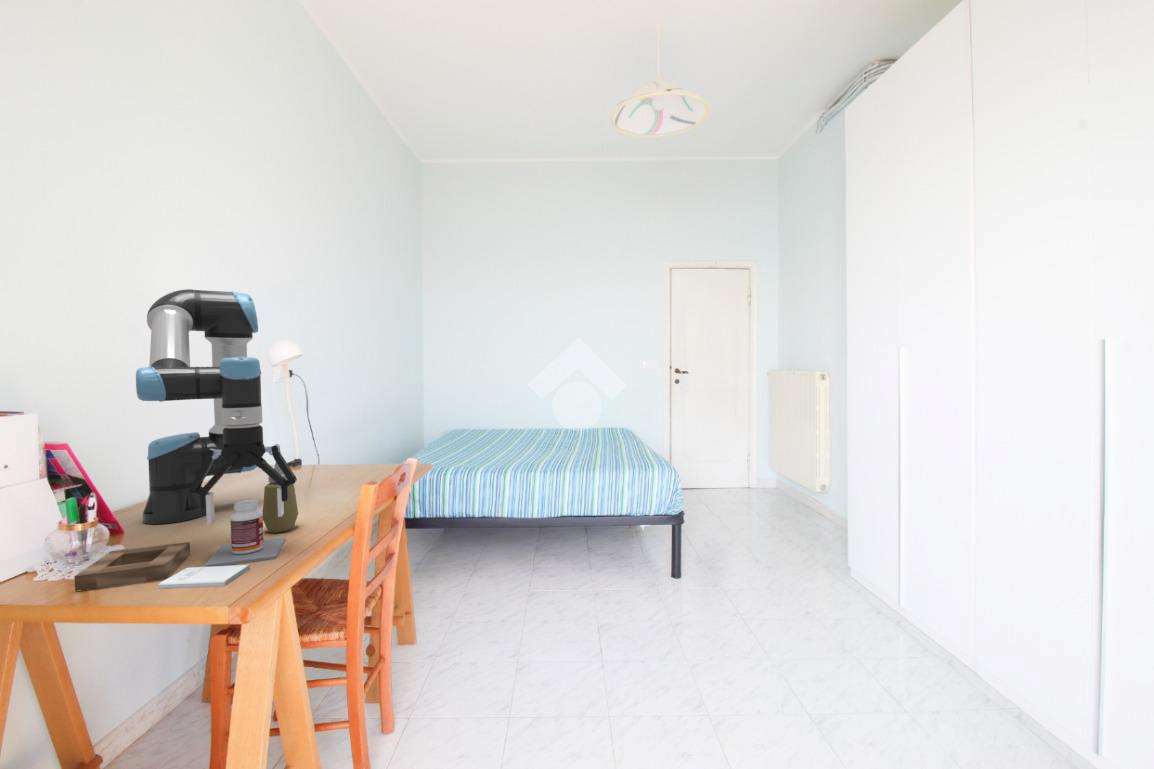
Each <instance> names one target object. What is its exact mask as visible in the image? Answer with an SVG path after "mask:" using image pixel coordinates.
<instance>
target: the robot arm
mask: <svg viewBox="0 0 1154 769" xmlns="http://www.w3.org/2000/svg"><path fill="white" fill-rule="evenodd" d="M258 323H259V322H258V316H257V310H256V306H255V303H254V299H253V298H252V296H251V295H250V294H248V293H245V292H244V293H243V292H235V291H224V290H223V291H222V290H221V291H220V290H203V289H201V290H200V289H190V288H189V289H186V288H185V289H180V290H176V291H172V292H170V293H167V294H165V295H163V296H161V297H160V298H158V299H157V300H156V301H154V303H152V305H151V306H150V307H149V309H148V311H147V315H146V324H147V326H148V328H149V329H150V332H151V334H150V351H149V366H148V367H139V368H138V369H137V370H136V372H135V391H136V395H137V396H136V397H137V398H138V400H140V401H142V402H160V403H161V402H162V403H163V402H168V401H169V402H170V401H171V402H172V401H187V400H188V401H189V400H208V399H210V400H212V399H213V412H214V415H213V416H214V425H213V426H211V427H210V429H208V436H201V435H200V433H199V432H189V433H187V432H186V433H179V434H174V435H169V436H165V437H161V438H157V439H154V440H152V441H151V442H150V443H149V444H148V446H147V457H146V459H147V461H148V482H149V484H148V485H149V494H148V498H147V500H146V503H145V506H144V509H143V511H142V523H143V522H144V523H143V524H146V523H147V525H163V524H172V523H179V522H185V521H189V520H193V519H198V518H201V517H204V516H206V525H212V524H213V523H214V522H215V521H216V519H215V517H216V516H215V495H214V494H215V493H214V491H212V492H211V491H210V490H212V488H213V487H215V485H216V484H217V483H218V482H219V481H220V479H221V478H222V477H223V476H225V475H229V474H230V475H232V474H237V473H238V474H241V473H244V472H245V473H246V472H251V471H254V470H256V469H257V468H259V469H261V470H262V472H264V473H265V474H266V475H267V476H270V477H271V478H272V479H273V480H274V481H275V482H276V483H277V484H278V485H280V486H279V487H278V488H277V501H278V517H282V515H283V514H284V502H283V501H287V499H288V486H289V485H291V484H294V485H295V483H297V480H298V479H297V476H296V475H295V473H294V472H293V471H292V469H291V467H290V466H289V464H288V463H287V460H285V458H284V456H283V455H282V452H281V448H280V447H281V446H280V445H279V444H277V443H276V444H273V445H270V446H265V445H264V430H263V429H264V427H263V426H262V425H261V424H262V423H263V407H262V406H263V405H262V381H261V380H262V379H261V378H262V377H261V375H262V370H261V364H260V360H259V358H256V357H248V343H250V342H251V341H252V340H253V334H255V333H258V332H259V324H258ZM190 332H204V339H206V340H207V341H208V342H209V343H210V344H211V359H212V360H211V363H212V365H211V366H191V354H190ZM266 453H268V454H269V456H272V457H273V459H274V461H275V463H276V462H277V464H278V466H279V467H280V469H281V470H282V472H283V473H284V475H285V476H286V478H287V480H286V479H285V478H284V477H282V476H281V475H280V474H279V473H278V472H277V471H276V470H275V469H274V467H273V466H271V465H270V463H268V461H267V460H266V459H265V458H264V457H263V456H264V454H266ZM211 476H212V477H211ZM206 477H211V478H210V479H209V480H208V481H207V483H206V484H205V485H204V486H202V484H203V483H204V481H205V479H206Z"/></svg>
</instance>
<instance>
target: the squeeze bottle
mask: <svg viewBox="0 0 1154 769" xmlns="http://www.w3.org/2000/svg"><path fill="white" fill-rule="evenodd" d="M273 468H274V469H275V470H276V471H277V472H278V473H279V474H280V475H281V476H282V477H284V478H285V479H286V480H287V478H286V476H285V475H284V473H283V472H282V470H281V469H280V467H279V466H278V464H277V462H276V461H275V464H274V467H273ZM267 476H268V475H267ZM267 478H268V483H267V484H266V485H265V486H264V493H263V494H264V495H263V505H262V513H263V524H264V525H265V528H266V529H267V532H269V533H283V532H287V531H290V530H292V529H294V527H295V525H296V522H297V518H298V516H299V509H298V502H297V501H298V500H297V496H296V489H295V483H294V484H291V485H289V486H288V499H287V501H283V502H284V514H283V515H282V517H278V501H277V488H278V487H279V486H280V485H278V484H277V483H276V482H275V481H274V480H273V479H272V478H271V477H270V476H268V477H267Z"/></svg>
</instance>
